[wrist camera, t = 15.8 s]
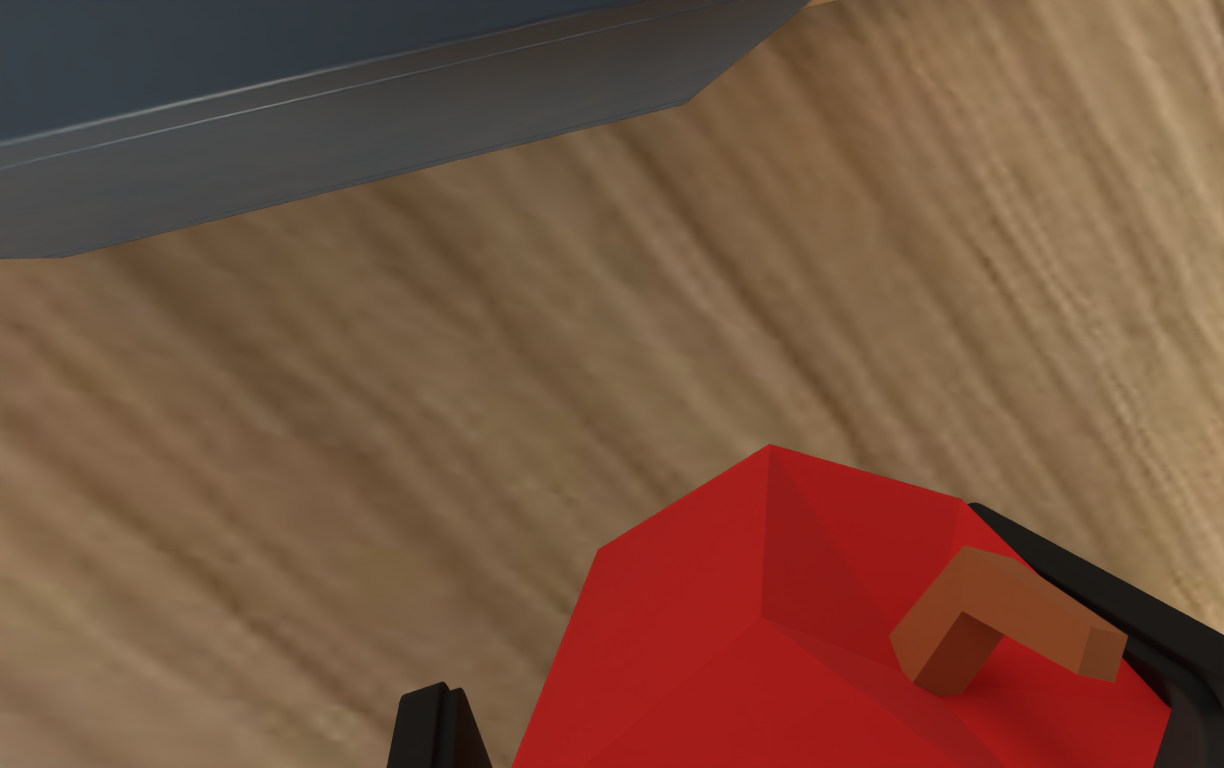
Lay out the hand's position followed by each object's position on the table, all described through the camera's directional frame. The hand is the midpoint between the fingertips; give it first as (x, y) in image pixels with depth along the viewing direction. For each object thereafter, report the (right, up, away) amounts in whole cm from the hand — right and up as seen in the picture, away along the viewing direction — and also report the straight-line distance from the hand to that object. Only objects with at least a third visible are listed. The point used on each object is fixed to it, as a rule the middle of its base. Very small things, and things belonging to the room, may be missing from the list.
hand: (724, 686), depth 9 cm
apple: (0, 0, +1) cm, 1 cm away
